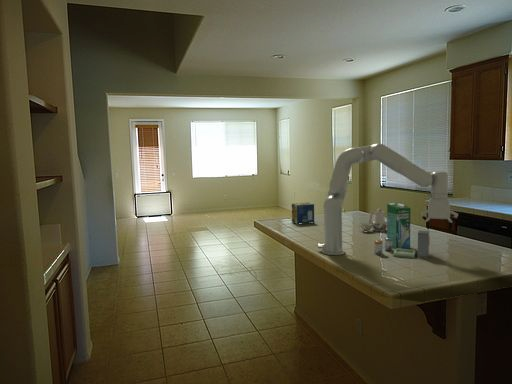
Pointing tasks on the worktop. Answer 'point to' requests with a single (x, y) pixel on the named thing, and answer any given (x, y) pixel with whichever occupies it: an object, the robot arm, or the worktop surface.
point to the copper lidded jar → (378, 247)
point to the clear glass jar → (388, 243)
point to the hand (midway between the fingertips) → (438, 229)
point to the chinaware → (375, 222)
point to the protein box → (302, 213)
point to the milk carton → (398, 224)
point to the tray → (404, 253)
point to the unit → (423, 244)
